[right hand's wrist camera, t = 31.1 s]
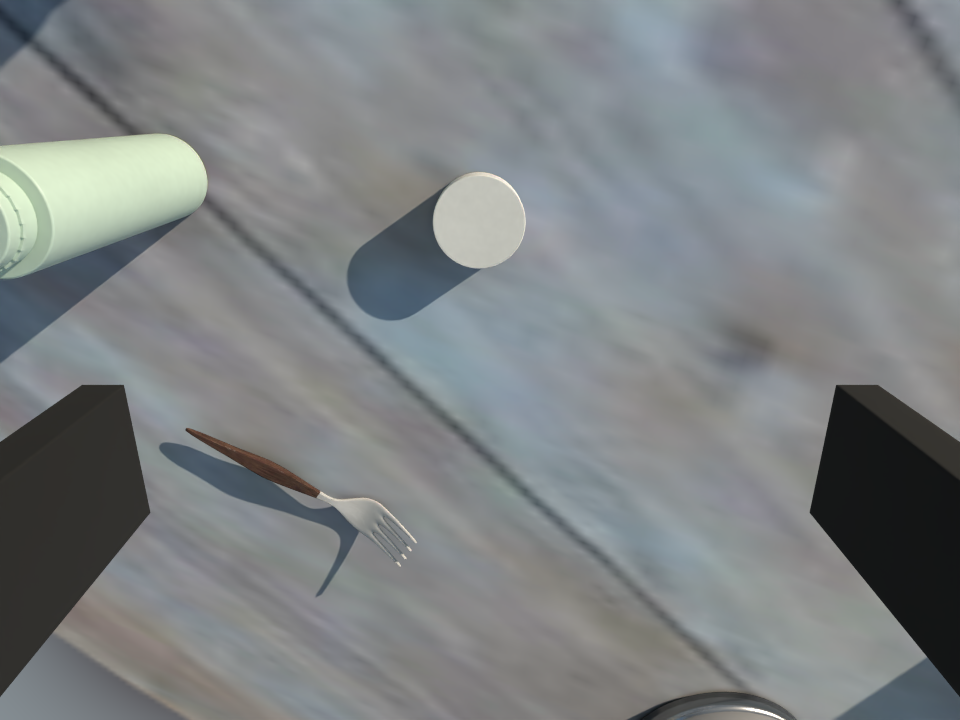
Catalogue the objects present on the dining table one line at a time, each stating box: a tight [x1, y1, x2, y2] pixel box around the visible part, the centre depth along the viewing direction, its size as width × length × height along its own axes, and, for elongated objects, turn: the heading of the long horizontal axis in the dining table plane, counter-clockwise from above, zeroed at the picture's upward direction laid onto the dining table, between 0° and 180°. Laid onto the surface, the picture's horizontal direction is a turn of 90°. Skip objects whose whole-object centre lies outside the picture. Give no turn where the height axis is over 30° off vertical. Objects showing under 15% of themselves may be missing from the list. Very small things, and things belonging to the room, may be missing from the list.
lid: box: [433, 172, 525, 269], centre depth 36 cm, size 5×5×2 cm
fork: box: [186, 428, 417, 567], centre depth 42 cm, size 3×16×2 cm, turn 58°
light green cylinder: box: [0, 134, 207, 279], centre depth 29 cm, size 4×4×16 cm
